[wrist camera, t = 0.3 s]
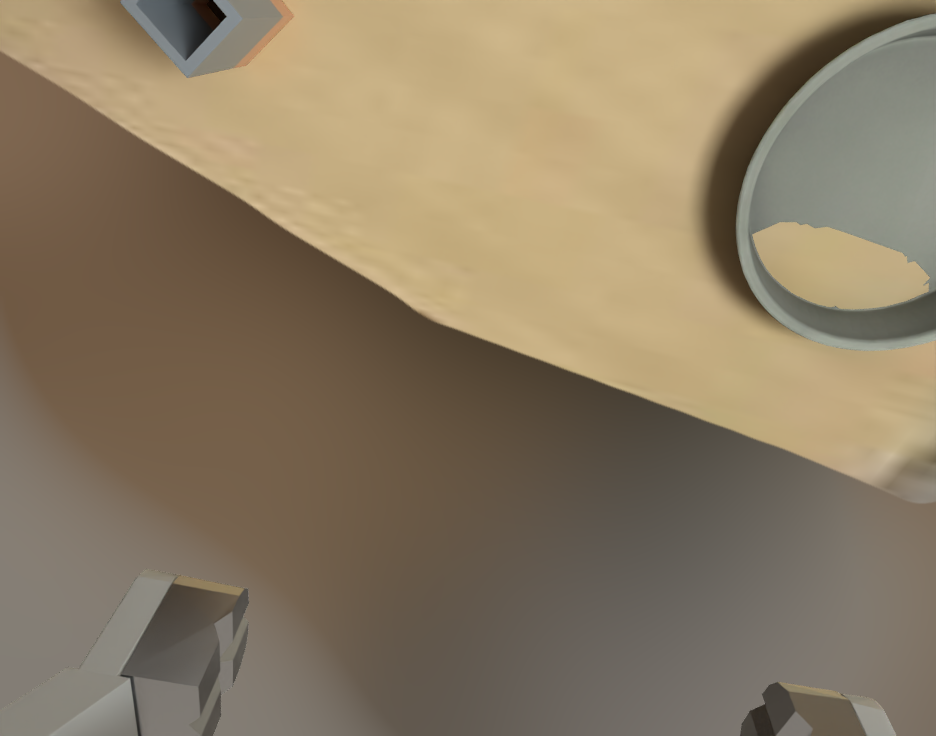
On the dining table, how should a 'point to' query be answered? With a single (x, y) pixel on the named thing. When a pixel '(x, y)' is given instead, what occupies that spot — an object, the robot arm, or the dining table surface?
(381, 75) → the dining table surface
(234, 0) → the sleeve
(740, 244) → the cake pan
